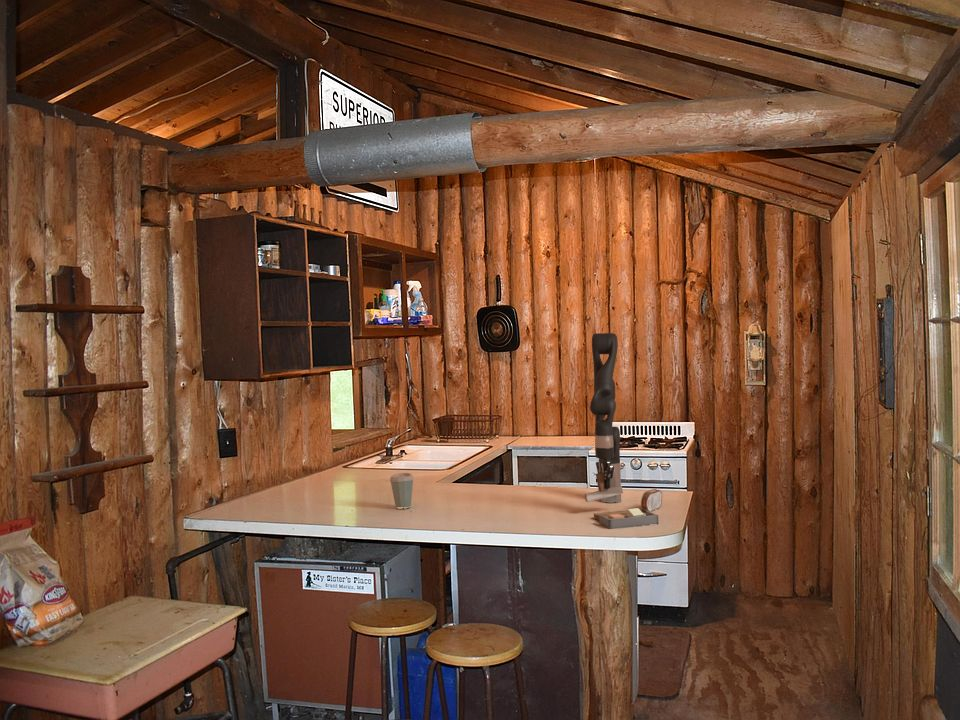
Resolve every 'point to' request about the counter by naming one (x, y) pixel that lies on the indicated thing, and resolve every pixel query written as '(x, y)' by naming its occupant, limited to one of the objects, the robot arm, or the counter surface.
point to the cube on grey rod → (602, 490)
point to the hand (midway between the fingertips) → (605, 487)
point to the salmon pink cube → (615, 516)
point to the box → (629, 521)
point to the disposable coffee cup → (402, 489)
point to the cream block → (634, 512)
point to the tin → (651, 500)
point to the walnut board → (597, 515)
